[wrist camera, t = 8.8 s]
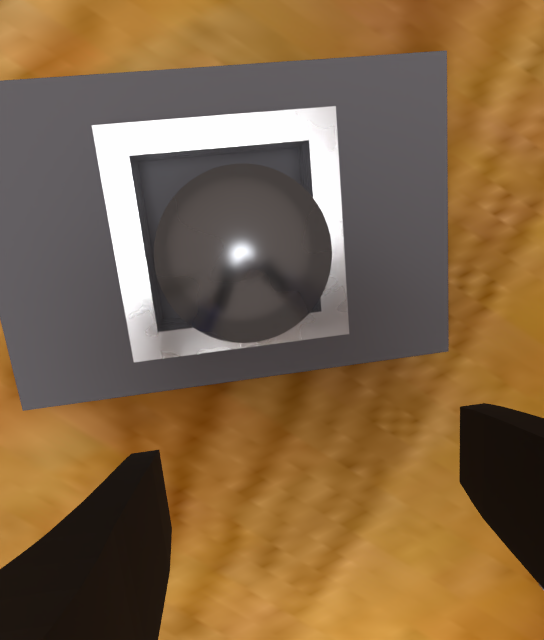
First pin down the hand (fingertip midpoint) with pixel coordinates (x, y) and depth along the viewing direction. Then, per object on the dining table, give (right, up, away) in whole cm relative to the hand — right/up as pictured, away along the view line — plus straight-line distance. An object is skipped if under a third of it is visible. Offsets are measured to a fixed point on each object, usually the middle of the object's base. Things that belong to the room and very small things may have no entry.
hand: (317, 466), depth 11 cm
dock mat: (-3, +7, +8) cm, 11 cm away
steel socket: (-3, +7, +7) cm, 10 cm away
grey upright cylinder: (-3, +7, +7) cm, 10 cm away
